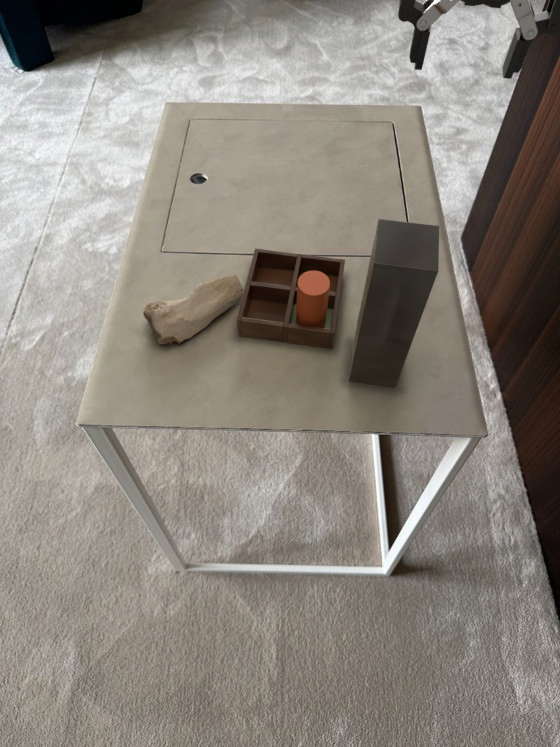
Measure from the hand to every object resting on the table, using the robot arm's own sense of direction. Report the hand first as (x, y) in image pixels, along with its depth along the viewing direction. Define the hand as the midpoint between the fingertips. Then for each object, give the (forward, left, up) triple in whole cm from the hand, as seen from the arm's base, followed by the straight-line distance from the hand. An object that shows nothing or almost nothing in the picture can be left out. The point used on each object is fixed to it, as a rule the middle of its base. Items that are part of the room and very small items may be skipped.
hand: (462, 69), depth 53 cm
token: (+12, +11, -29) cm, 34 cm away
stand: (+3, +16, -30) cm, 34 cm away
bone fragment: (+28, +12, -30) cm, 43 cm away
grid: (+15, +8, -30) cm, 35 cm away
